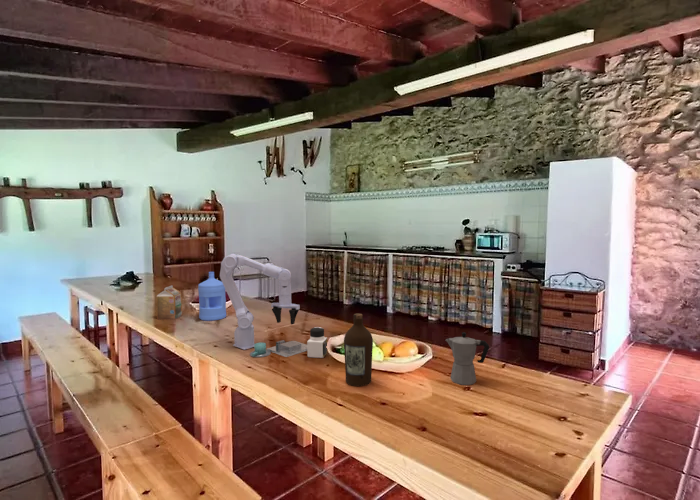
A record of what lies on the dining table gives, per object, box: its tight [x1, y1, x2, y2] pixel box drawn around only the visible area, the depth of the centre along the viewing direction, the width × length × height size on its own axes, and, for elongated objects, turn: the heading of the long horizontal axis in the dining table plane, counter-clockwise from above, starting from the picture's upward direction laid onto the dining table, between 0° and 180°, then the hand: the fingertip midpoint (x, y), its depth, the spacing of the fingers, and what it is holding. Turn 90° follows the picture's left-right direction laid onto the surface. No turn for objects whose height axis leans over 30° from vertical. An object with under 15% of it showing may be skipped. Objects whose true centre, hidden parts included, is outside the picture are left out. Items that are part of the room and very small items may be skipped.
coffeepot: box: [445, 331, 490, 386], centre depth 151 cm, size 15×9×18 cm, turn 68°
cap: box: [251, 342, 267, 357], centre depth 182 cm, size 5×8×4 cm, turn 158°
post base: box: [266, 339, 307, 358], centre depth 189 cm, size 14×16×5 cm
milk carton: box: [156, 284, 183, 321], centre depth 252 cm, size 11×11×19 cm
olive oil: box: [343, 313, 374, 387], centre depth 151 cm, size 11×11×25 cm
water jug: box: [197, 271, 227, 322], centre depth 250 cm, size 16×16×28 cm
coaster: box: [249, 349, 272, 358], centre depth 184 cm, size 9×9×1 cm
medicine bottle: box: [306, 326, 328, 359], centre depth 181 cm, size 7×7×12 cm
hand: (285, 323), depth 196 cm, fingers open, 7 cm apart
